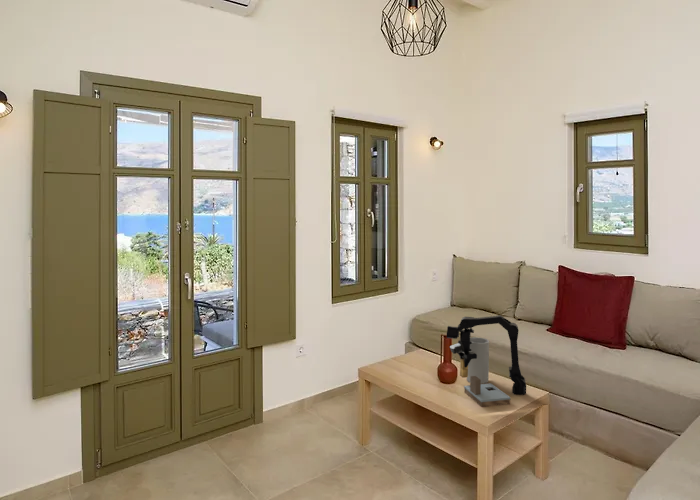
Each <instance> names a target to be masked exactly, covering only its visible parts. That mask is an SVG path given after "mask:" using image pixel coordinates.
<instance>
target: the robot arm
mask: <svg viewBox="0 0 700 500" xmlns="http://www.w3.org/2000/svg"><path fill="white" fill-rule="evenodd" d="M496 324H499V325H500V326H501V327H502V328H504V330H506V331H507V334H508V337H509V342H510V357H511V366H508V375H509V378H510V380H511V381H512V382H513V383H512V387H511V388H512V389H511V391H512V392H511V393H512V394H513V395H516V396H524V395H526V394H527V384H526V378H525V377H524V376H523V375H522V371H521V368H520V364H519V349H518V338H519V325H518V324H517V323H515V322H512V321H510V320H509V319H507V318H505V317H504V316H503V315H501V314H498V315H493V316H482V317H474V316H473V317H472V316H464V317H462V318H461V320H460V322H459V324H458V325H457V326H452V325H448V326H447V331H446V339H452V340H453V339H454V340H456V339H458V338H459V339H458V341H457V343H455V344H452V345H450V346H449V349H450V352H451V353H452V354H457V355H458V356H459V360H460V361H461V359H463V358H464V366H465V367H467V366H468V364H469V362H470V361H471V359H477V354H476V353H474V352H469V351H471V349H470V344H472V342H471V341H470V338H471V334H473V333H474V332H475V330H474V329H473V328H474V327H477V326H485V325H487V326H488V325H496Z"/></svg>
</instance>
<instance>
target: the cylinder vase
mask: <svg viewBox="0 0 700 500" xmlns="http://www.w3.org/2000/svg"><path fill="white" fill-rule="evenodd" d="M470 341H471V342H472V344H470V349H471V351H469V352H474V353H476V354H477V359H471V361H470V362H469V364H468V377H466V381H467V382H468V383H469V384H470V376H476V377H478V378H479V379H480V380H481V384H488V383H489V378H490V377H489V371H490V369H489V368H490V340H489V339H487V338H484V337H470Z"/></svg>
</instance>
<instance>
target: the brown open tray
mask: <svg viewBox="0 0 700 500" xmlns="http://www.w3.org/2000/svg"><path fill="white" fill-rule="evenodd" d="M463 388H464V387H463ZM463 390H464V394H466V395H467V396H468V397H470V399H471V400H473V401H474V402H475V403H476V404H477V405H478V406H479V407H481V408H483V407H493V406H504V405H505V406H506V405H510V403H511V401H510V400H511V398H510V399H508V400H498V401H488V402H481V401H479V400H478V399H477V398H476V397H475V396H473V395H472V394H471V393H470V392H469V391H467V390H466V389H465V388H464V389H463ZM487 390H488V391H491V390H493V389H487Z"/></svg>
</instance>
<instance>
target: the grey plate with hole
mask: <svg viewBox="0 0 700 500" xmlns="http://www.w3.org/2000/svg"><path fill="white" fill-rule="evenodd" d="M463 388H465V389H466V390H467V391H469V392H470V393H471V394H472V395H473V396H475V397H476V398H477V399H478V400H479V401H481V402H488V401H498V400H508V399H510V400H511V397H510V396H509V395H508V394H506V392H504V391H502V390H501V389H499V388H498V387H497V386H495V385H494V384H493V383H491V382H490V383H483V384H481V380H480V379H479V378H478V377H476V376H470V383H469V385H463ZM487 389H493V390H491V391H488V390H487Z"/></svg>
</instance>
